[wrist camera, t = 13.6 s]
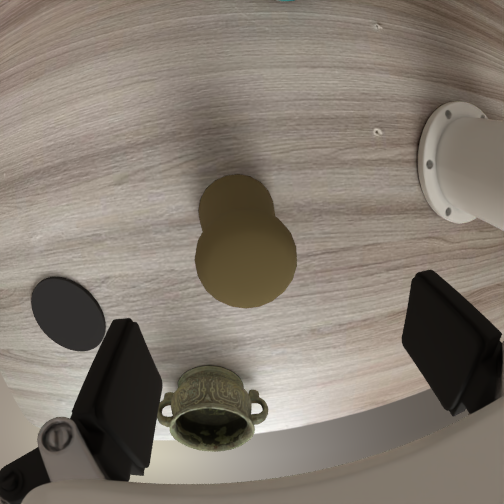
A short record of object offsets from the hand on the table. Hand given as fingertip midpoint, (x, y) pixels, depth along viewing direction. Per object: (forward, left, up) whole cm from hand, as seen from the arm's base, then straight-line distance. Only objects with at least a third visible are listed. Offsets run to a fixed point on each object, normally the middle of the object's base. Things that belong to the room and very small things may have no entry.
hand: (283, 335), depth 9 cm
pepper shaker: (+1, 0, -16) cm, 16 cm away
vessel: (+7, +20, -16) cm, 26 cm away
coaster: (+20, +8, -16) cm, 26 cm away
